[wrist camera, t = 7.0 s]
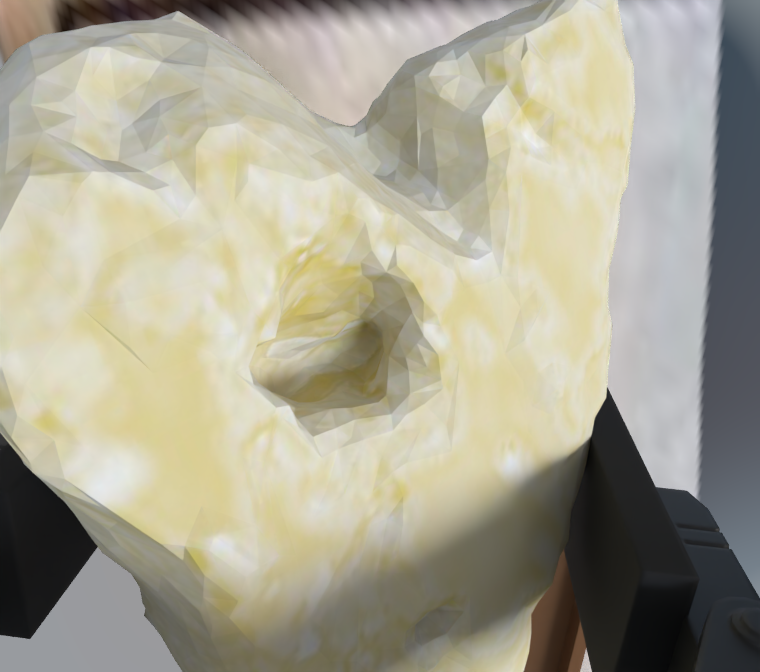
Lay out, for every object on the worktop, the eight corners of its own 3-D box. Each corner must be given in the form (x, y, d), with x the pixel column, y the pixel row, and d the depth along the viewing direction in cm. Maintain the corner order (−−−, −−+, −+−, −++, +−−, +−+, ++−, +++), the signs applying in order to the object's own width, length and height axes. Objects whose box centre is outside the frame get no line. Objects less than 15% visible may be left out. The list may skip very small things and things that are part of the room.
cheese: (243, -126, 14) (-475, 454, 9) (512, -356, 8) (-988, 842, 4) (543, 349, 22) (246, 789, 18) (783, 395, 17) (440, 1069, 12)
